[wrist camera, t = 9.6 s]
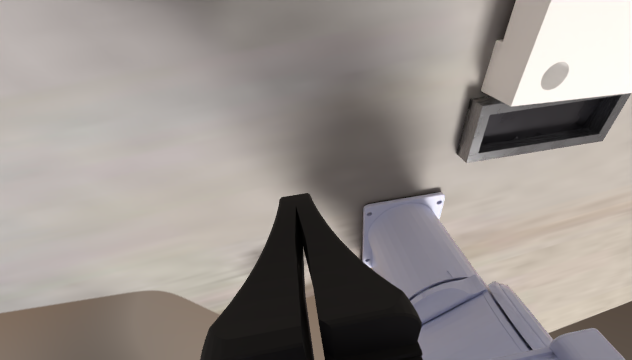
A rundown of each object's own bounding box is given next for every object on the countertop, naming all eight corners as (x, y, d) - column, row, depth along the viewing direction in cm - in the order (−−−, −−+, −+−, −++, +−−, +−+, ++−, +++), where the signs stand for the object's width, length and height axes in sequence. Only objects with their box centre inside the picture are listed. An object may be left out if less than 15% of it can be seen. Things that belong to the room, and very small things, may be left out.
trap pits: (586, 133, 25) (602, 140, 24) (456, 154, 25) (466, 162, 23) (790, -238, 13) (841, -258, 12) (551, -221, 13) (581, -242, 11)
